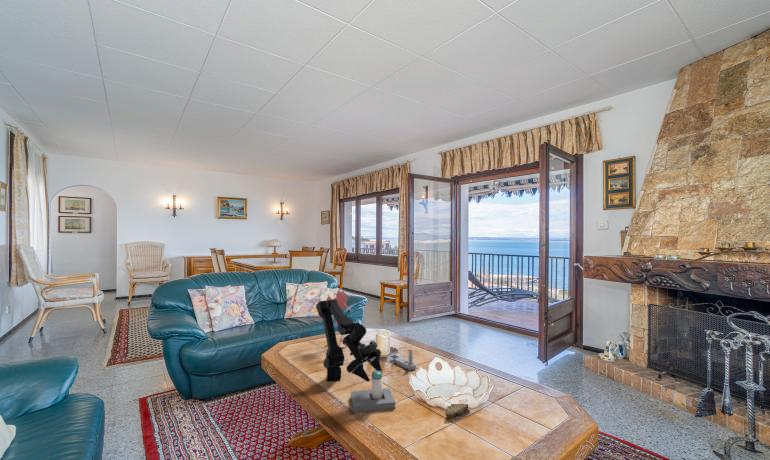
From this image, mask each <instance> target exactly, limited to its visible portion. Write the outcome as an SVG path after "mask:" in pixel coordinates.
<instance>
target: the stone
mask: <svg viewBox="0 0 770 460" xmlns="http://www.w3.org/2000/svg"><path fill="white" fill-rule="evenodd" d="M468 409H469V408H468V404H451V406H448V405H447V406H446V408H445V412H444V413H445V417H446V418H447V420H448V421H451V420H452V419H453V418H455V417H456V416H458V415H461V416H462V415H463V414H464V413H465V412H466V410H468Z"/></svg>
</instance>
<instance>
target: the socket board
mask: <svg viewBox="0 0 770 460" xmlns="http://www.w3.org/2000/svg"><path fill="white" fill-rule="evenodd" d="M350 393H351V394H350V395H351V396H350V397H351V402H352V408H353V412H354V413H360V412H361V413H363V412H372V411H373V412H374V411H383V410H392V409H396V401H395V398H394V396H393V394H392V391H391V389H390V388H389V387H388V388H387V387H386V388H382V399H380V400H372V389H368V390H367V389H365V390H355V391H353V390H351V392H350Z"/></svg>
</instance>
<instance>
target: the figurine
mask: <svg viewBox="0 0 770 460" xmlns="http://www.w3.org/2000/svg"><path fill="white" fill-rule="evenodd" d="M332 299H335V300H337V302H338V305H339V306H340V308H341V309H342V311H343V310H345V308H347V309H348V310H349V311H350V312H351V313H353V310H351V309H350V308H349V307H348V306H347V302H348V301H349V299H348V297H347V293H346V292H345V291H344V290H340V289H338V290H337V292H336V294H335V297H334V298H332V297H331V296H327V298H326V300H332ZM333 325H334V326H335V325H337V326H338V323H337V321H336V320H335V323H333ZM340 335H341V334H340ZM341 343H342V344H343V335H341V337H340V338H339V343H338V346H340V345H341ZM343 345H344V346H345V347H347V345H346V343H345V344H343ZM347 348H348V347H347ZM342 350H343V352H345V350H344V349H342Z"/></svg>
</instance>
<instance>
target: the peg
mask: <svg viewBox="0 0 770 460" xmlns="http://www.w3.org/2000/svg"><path fill="white" fill-rule="evenodd" d="M382 389H383V371H382V372H381V371H376V370H373V371H371V390H372V399H371V400H380V399H383V398H382Z"/></svg>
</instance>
